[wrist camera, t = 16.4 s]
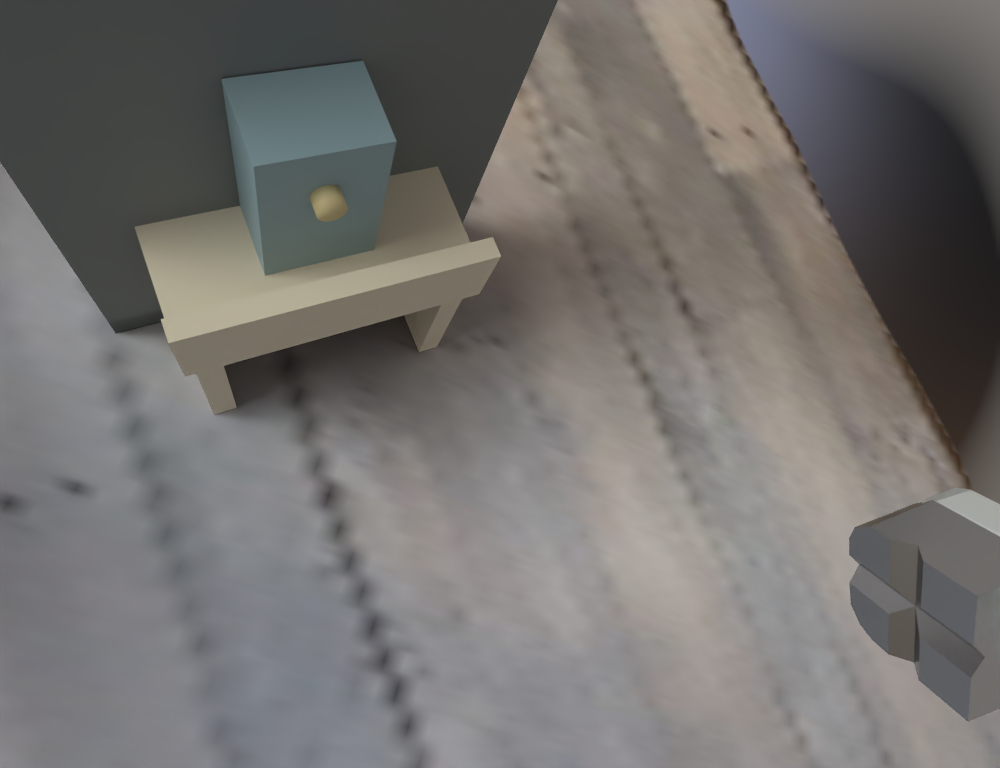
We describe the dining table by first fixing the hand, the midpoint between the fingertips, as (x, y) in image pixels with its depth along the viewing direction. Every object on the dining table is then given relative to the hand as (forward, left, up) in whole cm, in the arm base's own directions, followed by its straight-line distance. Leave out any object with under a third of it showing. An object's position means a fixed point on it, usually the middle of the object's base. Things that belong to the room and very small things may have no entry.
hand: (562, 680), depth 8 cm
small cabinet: (+3, +17, -20) cm, 27 cm away
